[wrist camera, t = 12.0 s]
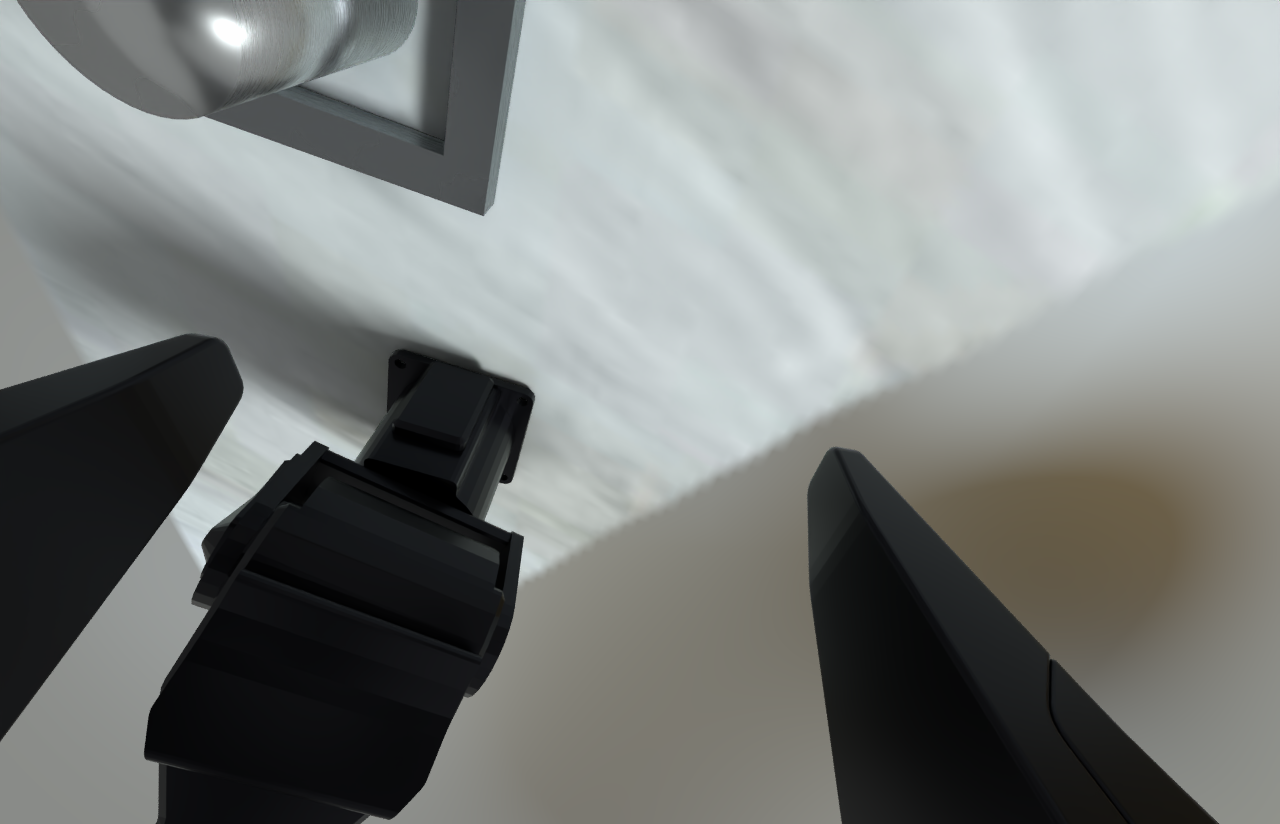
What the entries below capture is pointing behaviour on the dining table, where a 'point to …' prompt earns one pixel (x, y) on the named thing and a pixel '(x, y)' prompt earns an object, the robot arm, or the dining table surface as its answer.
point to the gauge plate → (400, 152)
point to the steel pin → (216, 45)
